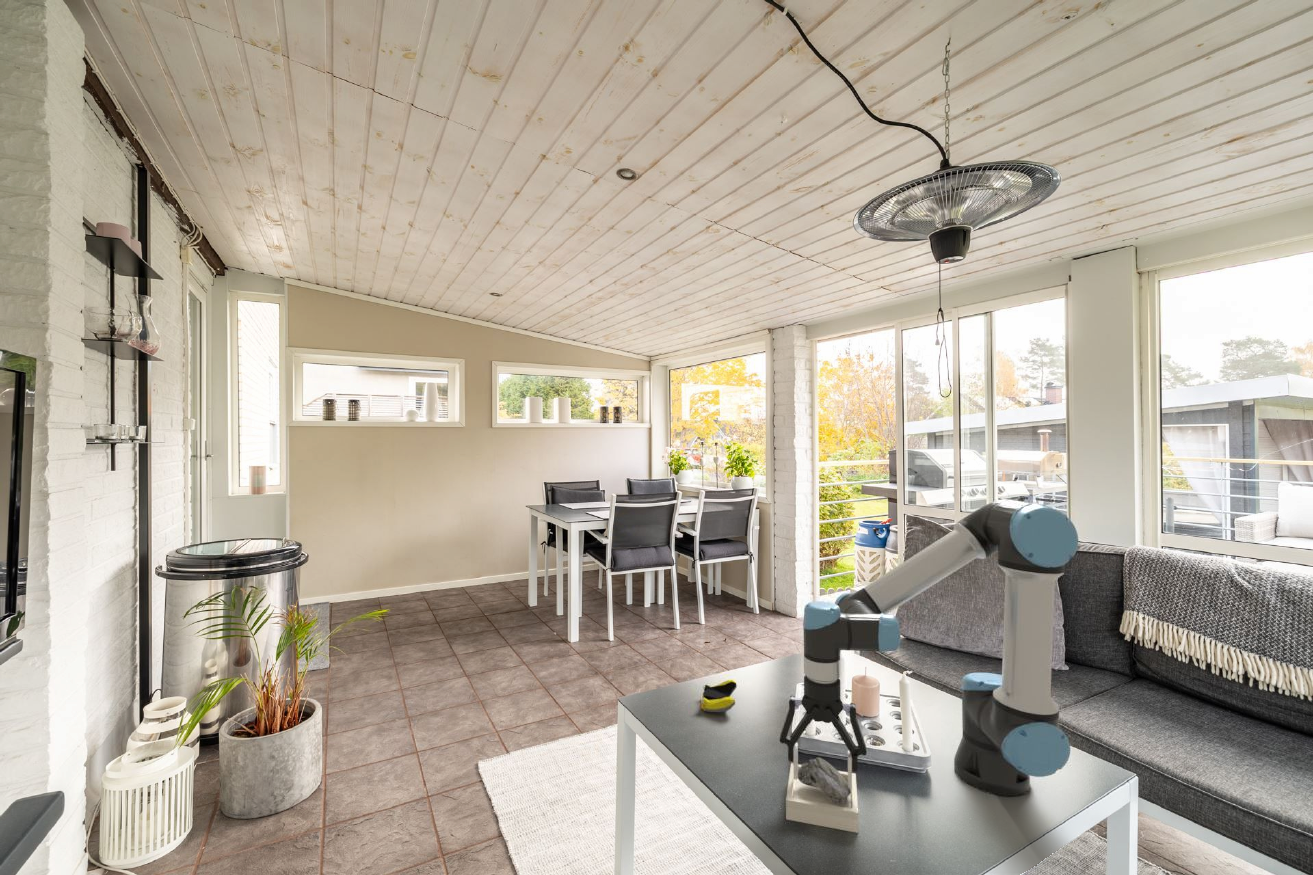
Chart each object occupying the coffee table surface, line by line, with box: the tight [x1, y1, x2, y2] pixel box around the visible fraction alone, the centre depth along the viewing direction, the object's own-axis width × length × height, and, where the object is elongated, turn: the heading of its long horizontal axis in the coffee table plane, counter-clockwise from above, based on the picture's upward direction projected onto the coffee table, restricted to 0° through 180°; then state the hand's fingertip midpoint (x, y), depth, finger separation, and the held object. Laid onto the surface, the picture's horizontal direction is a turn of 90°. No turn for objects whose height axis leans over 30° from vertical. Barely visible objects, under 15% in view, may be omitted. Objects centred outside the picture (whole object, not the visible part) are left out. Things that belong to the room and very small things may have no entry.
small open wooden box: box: [785, 762, 859, 834], centre depth 124 cm, size 14×14×4 cm
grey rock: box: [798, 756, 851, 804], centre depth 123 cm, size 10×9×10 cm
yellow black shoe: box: [700, 679, 738, 713], centre depth 169 cm, size 15×6×10 cm
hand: (822, 780), depth 124 cm, fingers closed on grey rock, 10 cm apart
